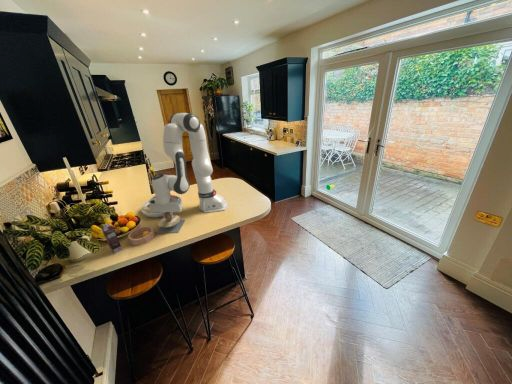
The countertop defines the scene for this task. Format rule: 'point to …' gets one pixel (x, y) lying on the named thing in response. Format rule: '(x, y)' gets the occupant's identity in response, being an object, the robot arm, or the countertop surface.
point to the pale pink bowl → (169, 220)
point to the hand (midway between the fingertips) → (168, 217)
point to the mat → (171, 228)
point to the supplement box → (111, 238)
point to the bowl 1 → (139, 231)
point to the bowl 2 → (147, 212)
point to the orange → (145, 233)
